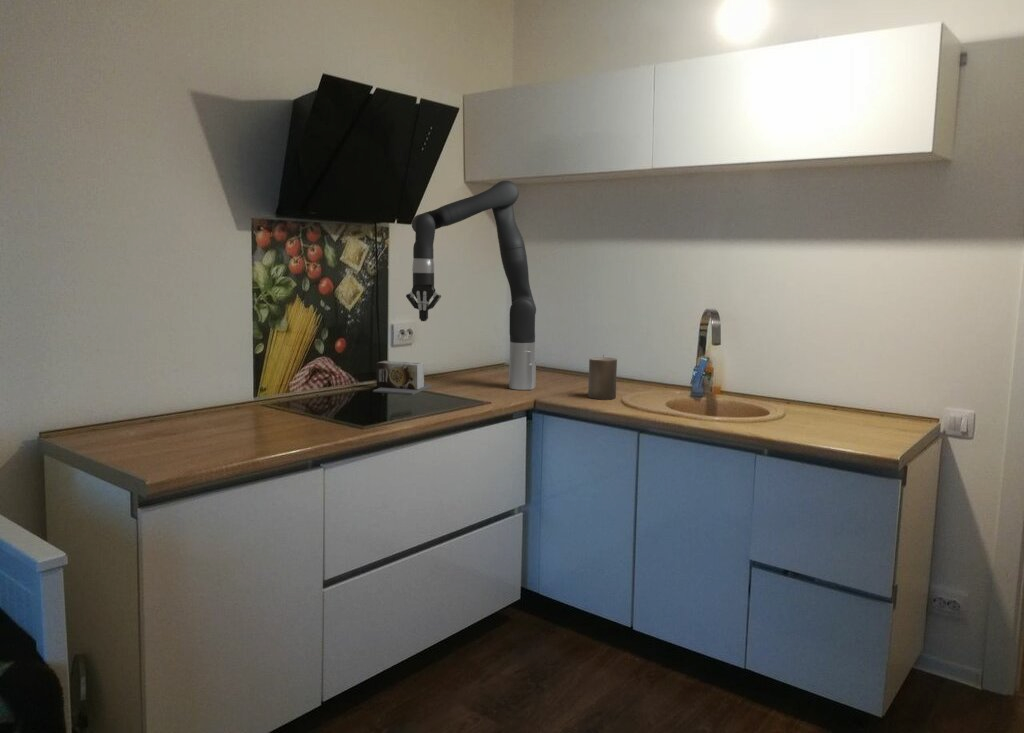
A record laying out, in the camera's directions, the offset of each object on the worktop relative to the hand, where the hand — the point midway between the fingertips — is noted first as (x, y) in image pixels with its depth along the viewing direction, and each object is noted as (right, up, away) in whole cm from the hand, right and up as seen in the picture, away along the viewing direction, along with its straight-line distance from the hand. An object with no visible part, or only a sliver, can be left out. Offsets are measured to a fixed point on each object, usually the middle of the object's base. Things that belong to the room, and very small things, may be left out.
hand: (423, 321), depth 267 cm
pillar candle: (+63, -27, -3) cm, 68 cm away
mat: (-8, -24, +5) cm, 26 cm away
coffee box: (-1, -20, +3) cm, 20 cm away
